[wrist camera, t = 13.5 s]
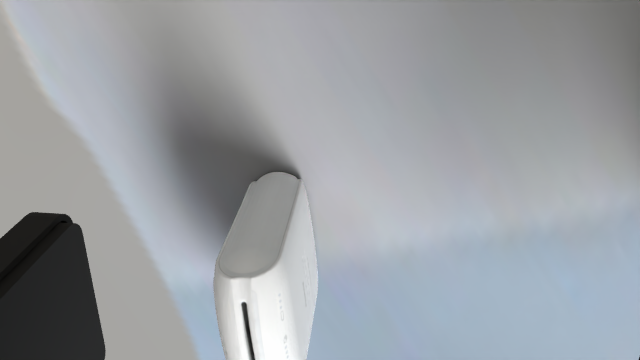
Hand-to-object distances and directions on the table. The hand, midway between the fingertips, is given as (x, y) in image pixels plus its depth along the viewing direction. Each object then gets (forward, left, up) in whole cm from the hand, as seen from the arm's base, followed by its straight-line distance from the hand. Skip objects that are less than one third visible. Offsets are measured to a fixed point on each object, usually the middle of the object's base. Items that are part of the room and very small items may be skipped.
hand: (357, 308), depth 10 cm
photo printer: (+6, +16, -28) cm, 33 cm away
